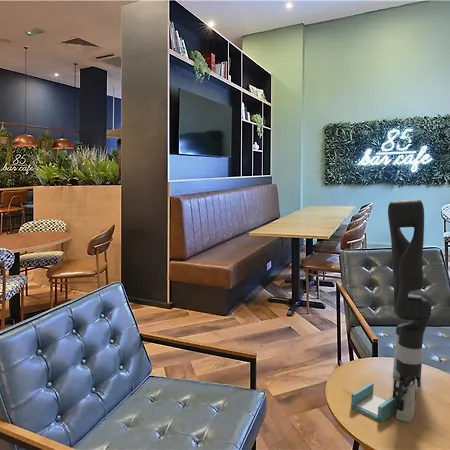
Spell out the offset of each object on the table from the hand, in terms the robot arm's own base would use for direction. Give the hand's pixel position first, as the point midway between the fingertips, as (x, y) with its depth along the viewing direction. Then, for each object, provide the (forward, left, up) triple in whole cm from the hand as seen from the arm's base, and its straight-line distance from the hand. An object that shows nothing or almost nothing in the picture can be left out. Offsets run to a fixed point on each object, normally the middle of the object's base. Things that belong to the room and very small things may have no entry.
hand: (405, 405), depth 136 cm
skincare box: (0, 0, -4) cm, 4 cm away
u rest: (+3, -9, -4) cm, 10 cm away
